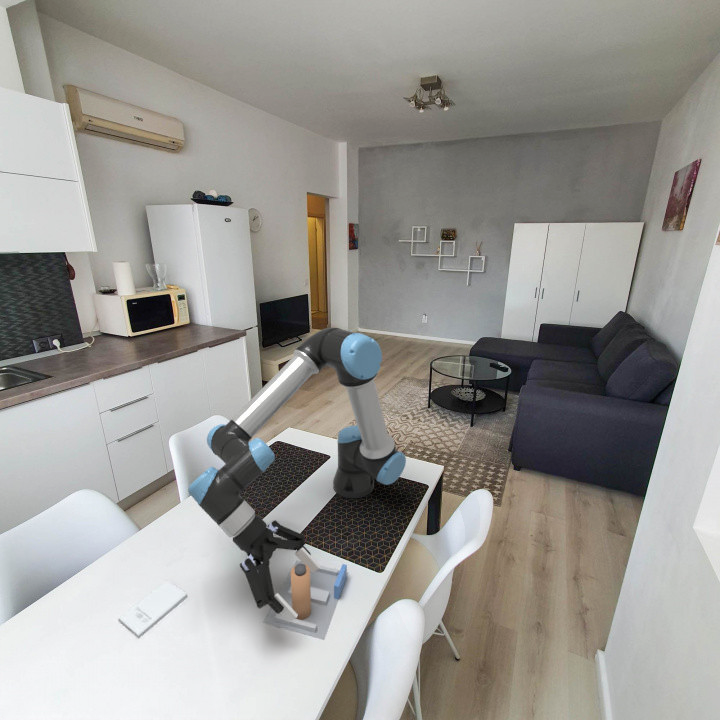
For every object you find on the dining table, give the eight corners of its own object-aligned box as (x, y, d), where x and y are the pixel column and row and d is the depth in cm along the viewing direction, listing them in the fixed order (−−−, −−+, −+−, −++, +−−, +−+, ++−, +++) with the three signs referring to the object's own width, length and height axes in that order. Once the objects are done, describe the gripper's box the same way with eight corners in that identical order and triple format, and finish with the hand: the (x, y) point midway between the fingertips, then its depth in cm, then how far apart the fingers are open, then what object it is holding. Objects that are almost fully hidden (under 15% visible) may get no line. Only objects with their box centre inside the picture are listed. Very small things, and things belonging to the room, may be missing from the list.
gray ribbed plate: (263, 626, 89) (262, 609, 87) (296, 563, 106) (296, 548, 105) (324, 643, 85) (323, 626, 84) (348, 576, 103) (348, 560, 101)
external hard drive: (187, 598, 96) (139, 640, 86) (167, 584, 100) (118, 622, 90) (187, 593, 96) (137, 634, 85) (166, 579, 99) (117, 617, 89)
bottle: (306, 600, 94) (305, 557, 90) (313, 614, 90) (312, 571, 87) (289, 608, 92) (287, 565, 88) (296, 623, 88) (294, 578, 85)
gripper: (261, 500, 101) (314, 558, 102) (200, 575, 78) (270, 649, 79) (278, 486, 98) (333, 546, 99) (220, 559, 75) (293, 637, 76)
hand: (305, 592), depth 89 cm, fingers open, 13 cm apart
